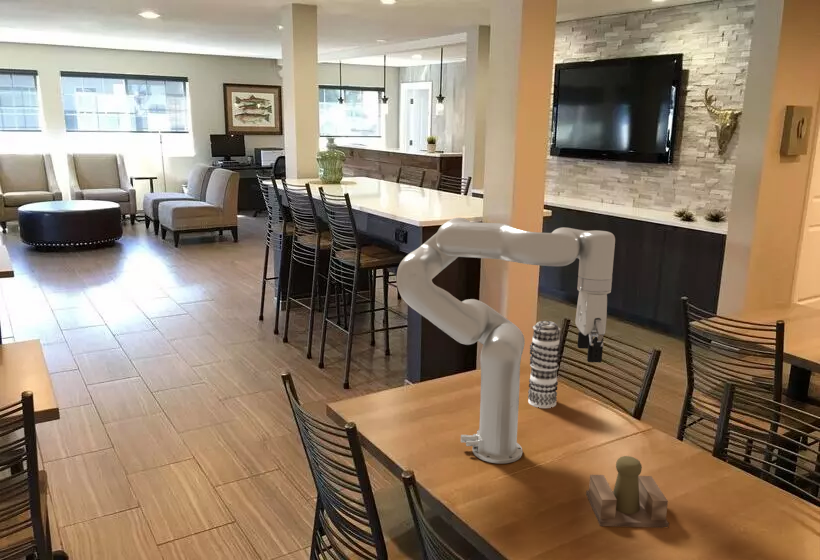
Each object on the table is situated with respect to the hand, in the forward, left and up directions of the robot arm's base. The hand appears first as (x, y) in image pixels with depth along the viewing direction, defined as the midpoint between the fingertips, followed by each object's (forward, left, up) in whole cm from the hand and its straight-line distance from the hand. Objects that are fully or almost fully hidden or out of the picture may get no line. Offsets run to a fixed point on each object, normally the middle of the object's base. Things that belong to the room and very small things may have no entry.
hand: (589, 354), depth 153 cm
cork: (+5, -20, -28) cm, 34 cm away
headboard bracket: (+5, -20, -28) cm, 35 cm away
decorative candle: (-3, +37, -28) cm, 47 cm away
